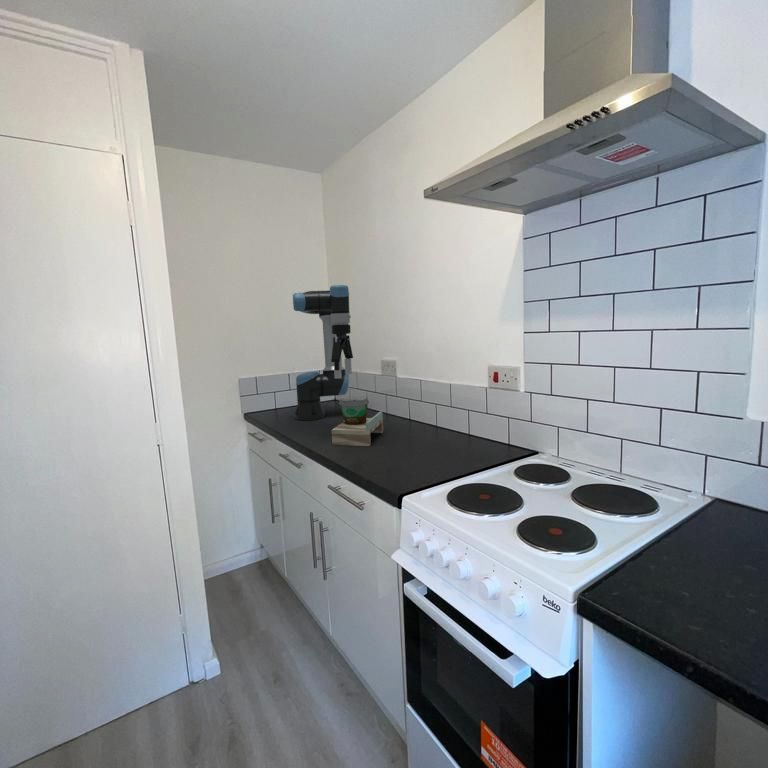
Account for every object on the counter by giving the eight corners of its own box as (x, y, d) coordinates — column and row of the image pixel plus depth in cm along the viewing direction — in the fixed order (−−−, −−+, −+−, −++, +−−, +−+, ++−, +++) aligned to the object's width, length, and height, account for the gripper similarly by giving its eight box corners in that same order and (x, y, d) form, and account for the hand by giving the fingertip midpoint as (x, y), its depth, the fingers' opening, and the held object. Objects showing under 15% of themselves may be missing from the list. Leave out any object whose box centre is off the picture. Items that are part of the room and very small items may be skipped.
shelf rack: (350, 431, 184) (349, 411, 183) (383, 431, 180) (382, 411, 179) (332, 445, 163) (331, 422, 162) (369, 446, 159) (368, 423, 158)
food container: (338, 426, 168) (337, 401, 167) (340, 422, 174) (338, 399, 173) (369, 424, 168) (368, 400, 167) (369, 421, 174) (368, 397, 173)
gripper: (339, 324, 157) (342, 380, 160) (358, 323, 181) (360, 372, 184) (320, 325, 159) (324, 380, 162) (341, 323, 183) (344, 372, 186)
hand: (343, 376), depth 173 cm, fingers open, 13 cm apart
